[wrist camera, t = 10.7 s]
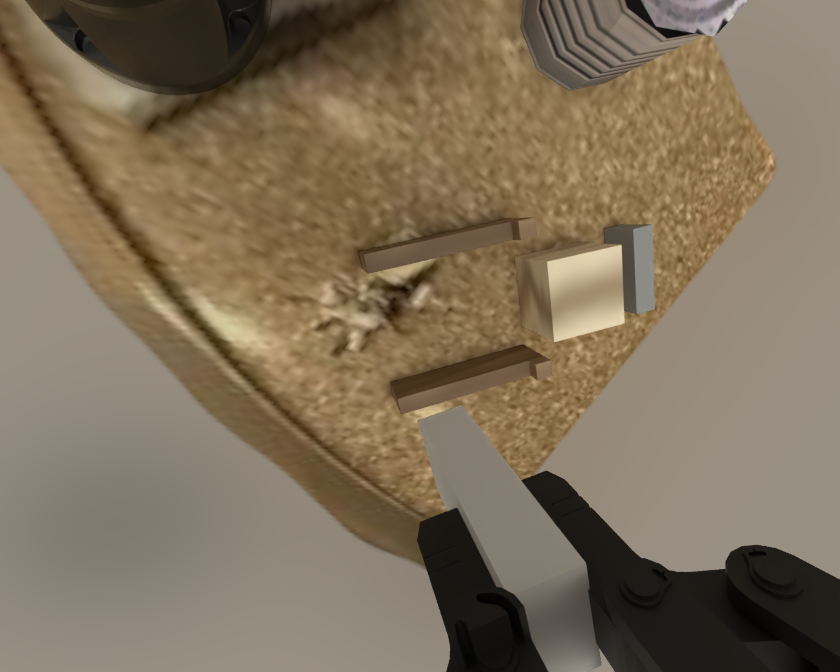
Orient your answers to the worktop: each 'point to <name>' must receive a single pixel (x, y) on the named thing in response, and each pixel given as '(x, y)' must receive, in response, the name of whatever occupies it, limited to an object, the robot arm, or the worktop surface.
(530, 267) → the block
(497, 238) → the chute
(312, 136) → the worktop surface
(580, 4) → the can
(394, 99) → the worktop surface
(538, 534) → the robot arm
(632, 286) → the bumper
